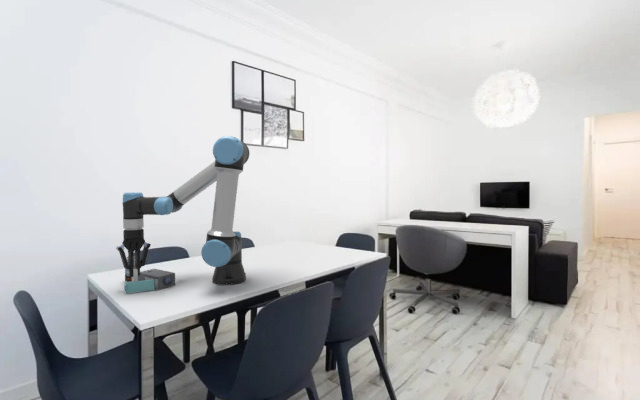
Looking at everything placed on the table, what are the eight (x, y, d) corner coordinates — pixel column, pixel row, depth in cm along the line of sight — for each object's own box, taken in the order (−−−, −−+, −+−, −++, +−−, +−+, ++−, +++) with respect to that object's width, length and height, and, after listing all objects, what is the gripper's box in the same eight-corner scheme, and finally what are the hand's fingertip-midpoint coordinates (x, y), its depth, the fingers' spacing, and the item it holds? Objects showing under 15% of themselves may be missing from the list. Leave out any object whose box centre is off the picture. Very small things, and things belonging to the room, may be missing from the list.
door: (158, 288, 142) (157, 278, 141) (157, 289, 140) (157, 279, 140) (125, 292, 137) (124, 282, 137) (124, 293, 135) (124, 283, 135)
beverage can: (124, 284, 150) (123, 258, 149) (126, 280, 156) (125, 255, 156) (139, 283, 152) (139, 257, 152) (141, 279, 159) (140, 254, 158)
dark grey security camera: (176, 285, 148) (176, 272, 147) (159, 290, 141) (159, 276, 141) (154, 280, 157) (154, 267, 157) (137, 284, 150) (137, 271, 150)
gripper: (146, 226, 147) (147, 279, 148) (113, 229, 138) (114, 285, 139) (153, 228, 142) (154, 282, 143) (119, 231, 133) (120, 289, 134)
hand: (134, 283), depth 141 cm, fingers closed
